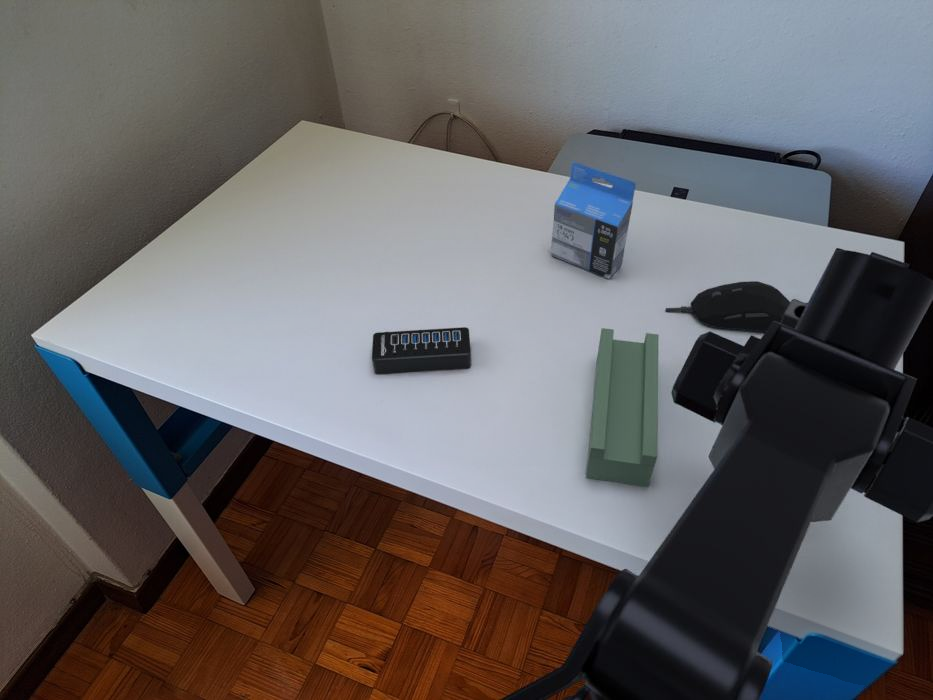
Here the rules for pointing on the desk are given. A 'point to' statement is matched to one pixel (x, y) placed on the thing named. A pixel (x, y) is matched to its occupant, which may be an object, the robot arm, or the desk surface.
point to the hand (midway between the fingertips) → (807, 418)
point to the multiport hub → (421, 350)
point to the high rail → (624, 411)
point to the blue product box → (592, 220)
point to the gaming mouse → (739, 306)
